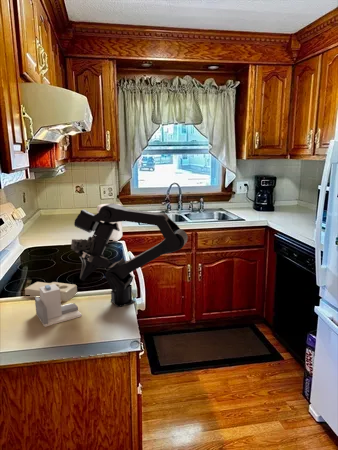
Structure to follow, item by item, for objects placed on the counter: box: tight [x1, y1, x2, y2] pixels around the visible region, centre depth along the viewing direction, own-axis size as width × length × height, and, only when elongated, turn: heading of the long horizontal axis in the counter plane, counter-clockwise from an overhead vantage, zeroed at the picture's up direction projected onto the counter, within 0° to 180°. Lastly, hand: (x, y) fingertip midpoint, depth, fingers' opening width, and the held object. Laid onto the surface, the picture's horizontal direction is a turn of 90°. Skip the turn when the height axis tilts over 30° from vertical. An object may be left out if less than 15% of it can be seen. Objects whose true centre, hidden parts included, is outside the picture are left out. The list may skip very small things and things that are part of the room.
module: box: [39, 284, 62, 319], centre depth 109 cm, size 5×6×10 cm
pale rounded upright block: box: [96, 203, 123, 242], centre depth 208 cm, size 15×14×22 cm
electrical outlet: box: [24, 281, 78, 302], centre depth 127 cm, size 7×4×18 cm
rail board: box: [34, 297, 82, 327], centre depth 111 cm, size 12×10×6 cm
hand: (81, 279), depth 115 cm, fingers closed
